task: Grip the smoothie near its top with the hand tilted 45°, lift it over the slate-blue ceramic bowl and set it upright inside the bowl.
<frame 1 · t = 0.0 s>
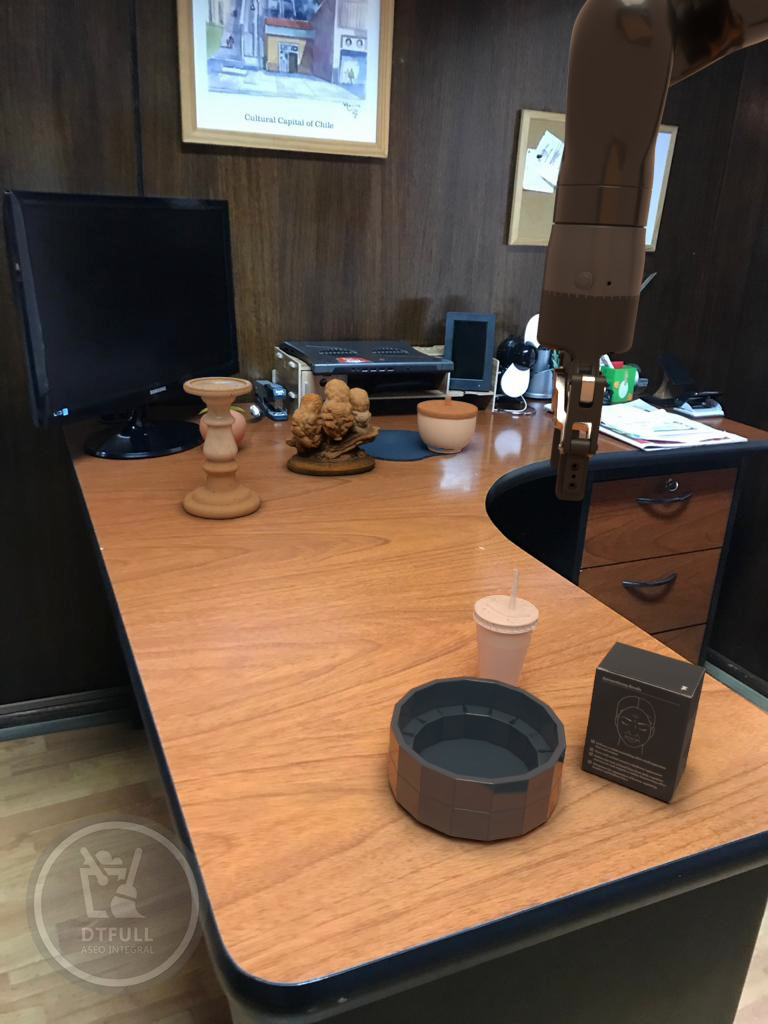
hand: (565, 482, 66), 24 cm above the table, tool pointing down, fingers open, 8 cm apart
box: (632, 771, 68), on the table
candle holder: (222, 507, 126), on the table
lidded bowl: (444, 449, 164), on the table
bowl: (471, 783, 66), on the table
decorative fruit: (225, 452, 155), on the table
owl figurine: (333, 467, 148), on the table
smoothie: (496, 695, 79), on the table
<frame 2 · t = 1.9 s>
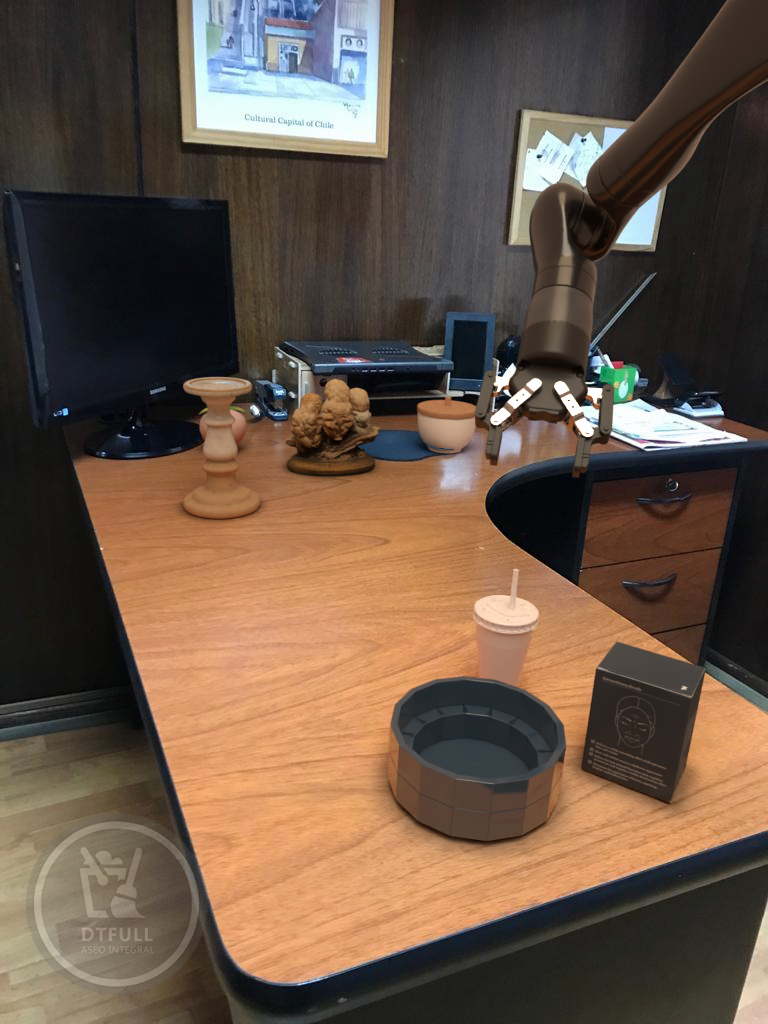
hand: (534, 468, 80), 21 cm above the table, tool tilted 45°, fingers open, 8 cm apart
nothing on the table moved.
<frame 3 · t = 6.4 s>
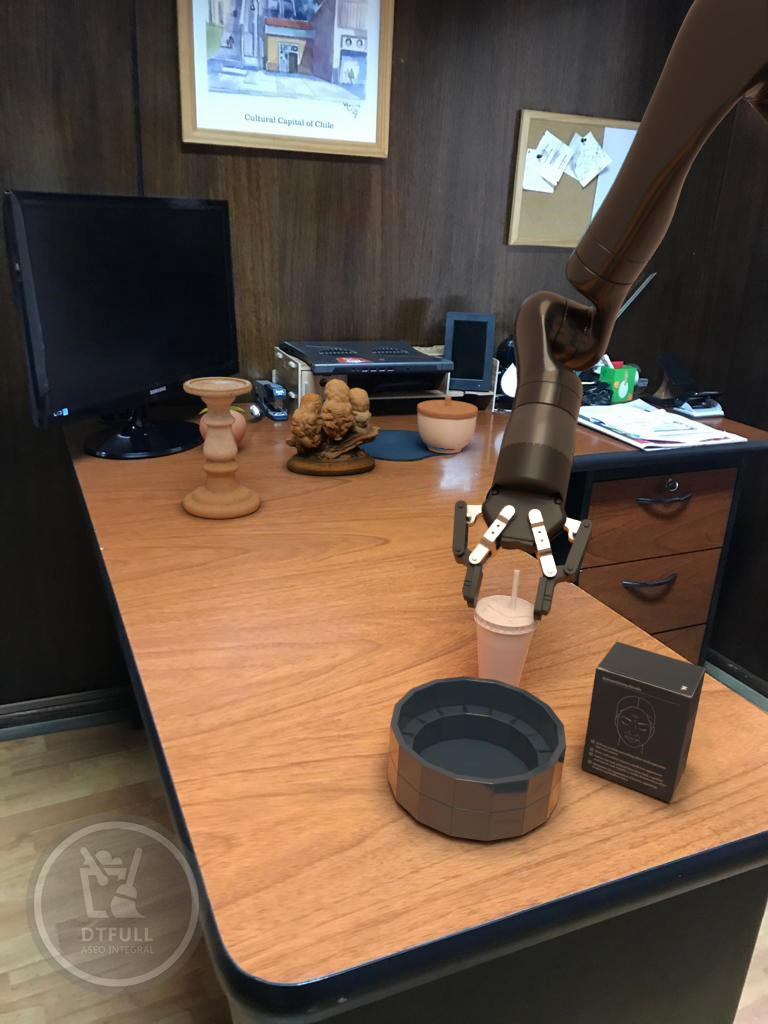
hand: (503, 610, 73), 10 cm above the table, tool tilted 45°, fingers closed on smoothie, 5 cm apart
smoothie: (496, 695, 79), on the table, touching gripper
everything else where it was.
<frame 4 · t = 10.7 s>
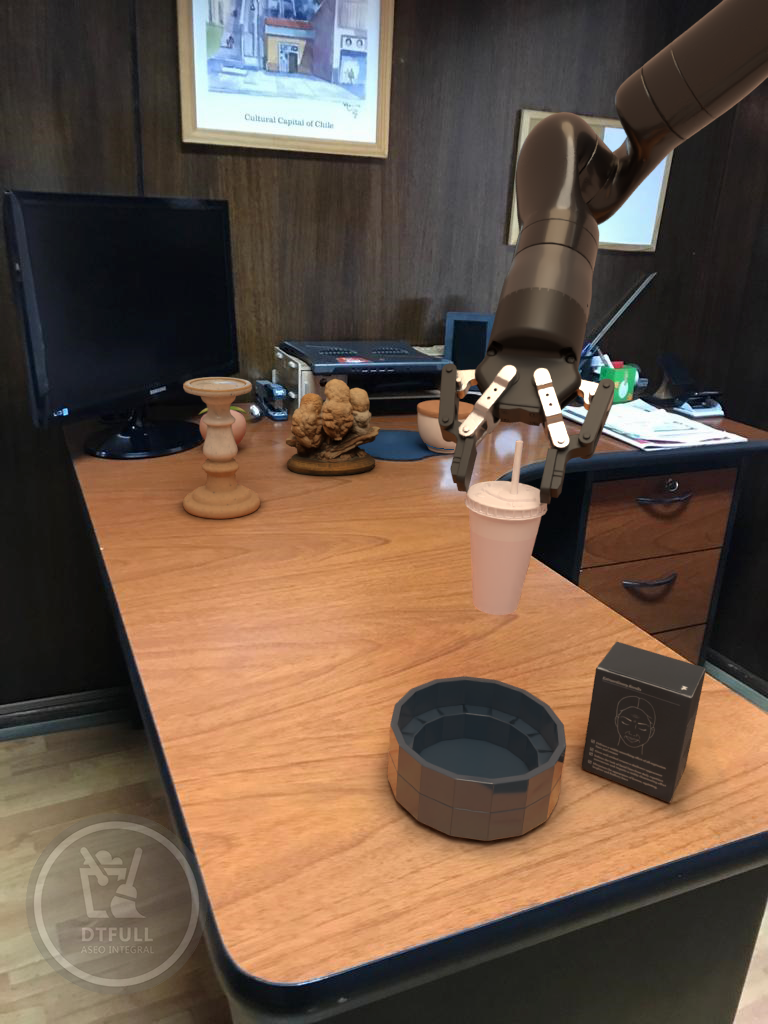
hand: (502, 492, 58), 26 cm above the table, tool tilted 45°, fingers closed on smoothie, 5 cm apart
smoothie: (494, 606, 64), point 15 cm above the table, touching gripper
everything else where it was.
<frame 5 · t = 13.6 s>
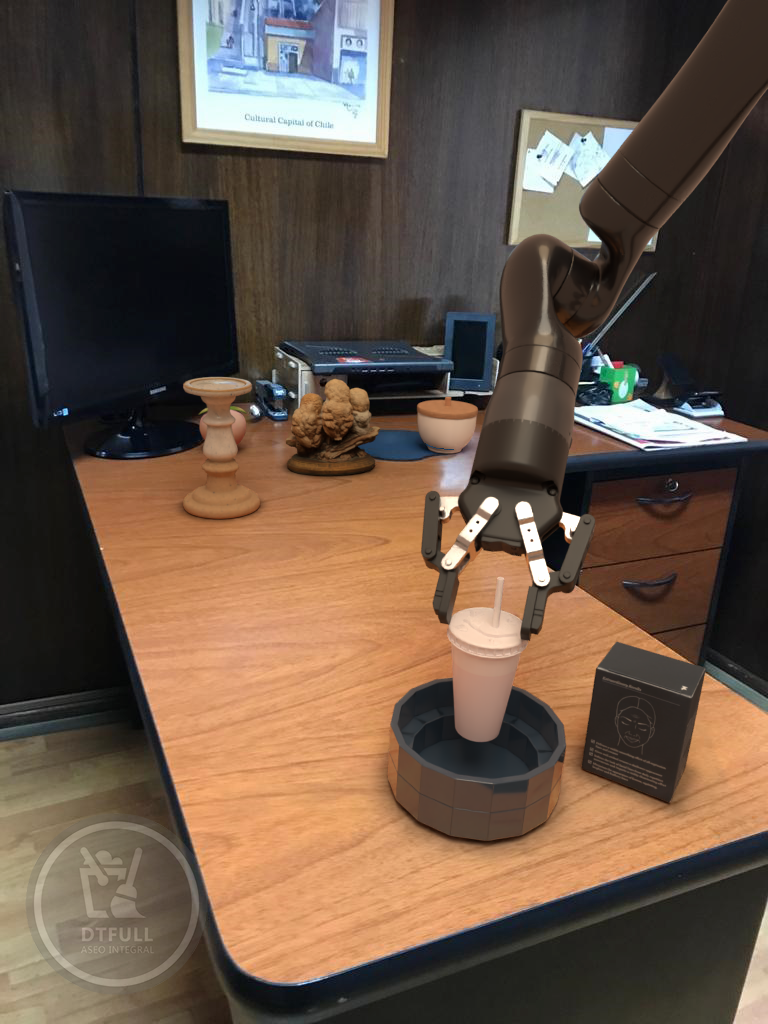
hand: (484, 628, 59), 16 cm above the table, tool tilted 45°, fingers closed on smoothie, 5 cm apart
smoothie: (476, 729, 64), point 5 cm above the table, touching gripper
everything else where it was.
when the fingers open (11 cm above the table, at t = 15.5 s): smoothie stays where it is, resting on bowl.
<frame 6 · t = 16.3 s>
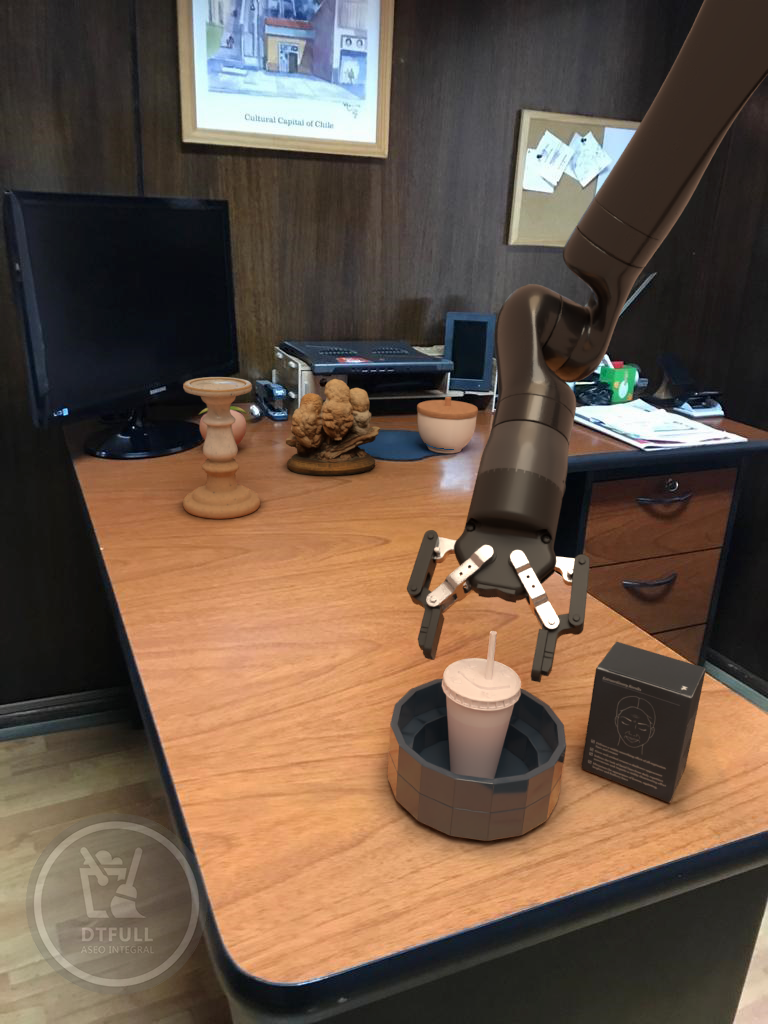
hand: (481, 668, 60), 12 cm above the table, tool tilted 45°, fingers open, 8 cm apart
smoothie: (472, 777, 66), resting on bowl
everything else where it was.
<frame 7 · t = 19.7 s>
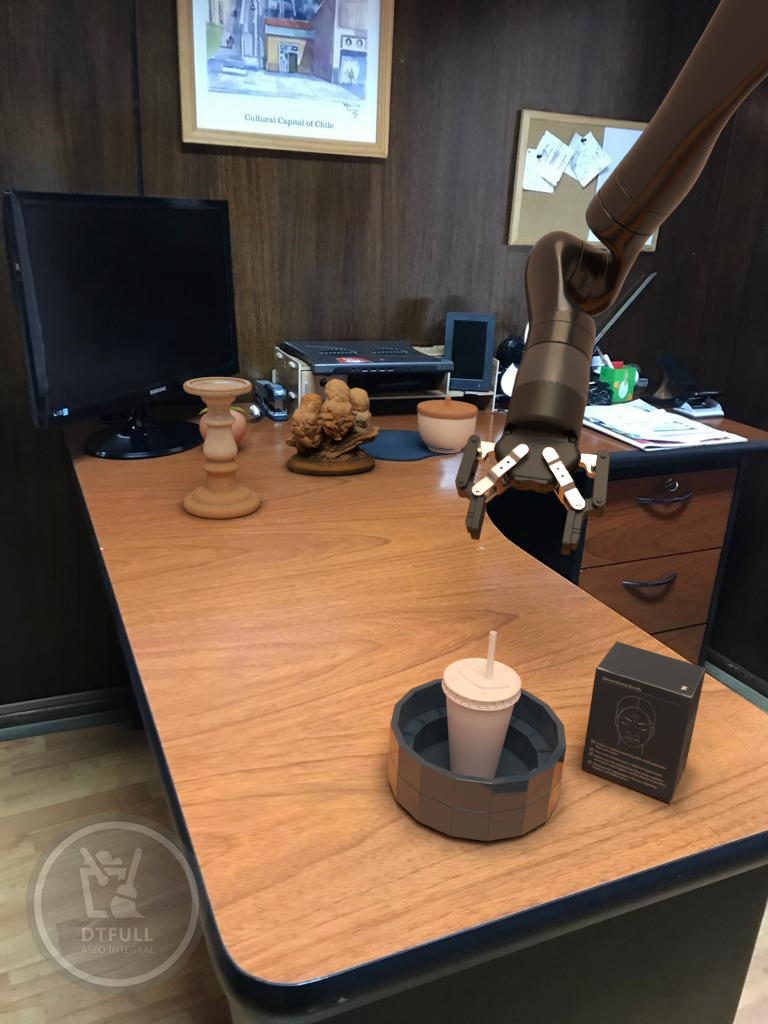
hand: (519, 543, 72), 17 cm above the table, tool tilted 45°, fingers open, 8 cm apart
nothing on the table moved.
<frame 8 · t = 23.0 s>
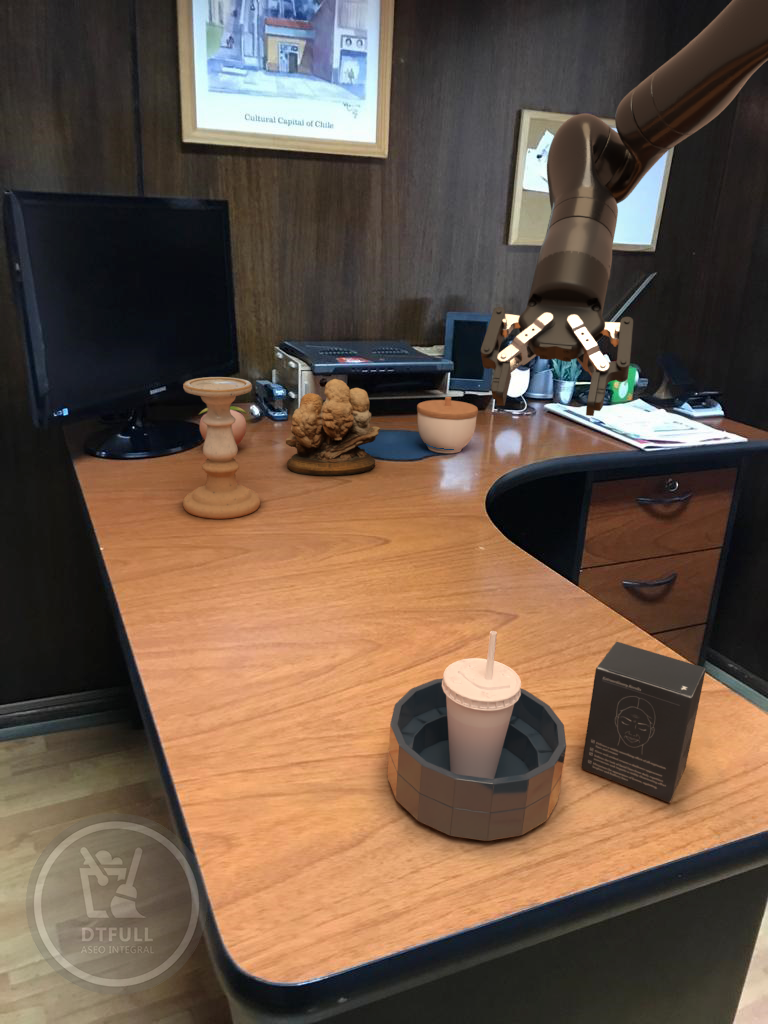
hand: (544, 406, 74), 29 cm above the table, tool tilted 45°, fingers open, 8 cm apart
nothing on the table moved.
at the end: smoothie inside the target area in the bowl (0.3 cm from its centre), point 0.4 cm above the bowl's base; smoothie tilted 0°; the gripper is holding nothing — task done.
